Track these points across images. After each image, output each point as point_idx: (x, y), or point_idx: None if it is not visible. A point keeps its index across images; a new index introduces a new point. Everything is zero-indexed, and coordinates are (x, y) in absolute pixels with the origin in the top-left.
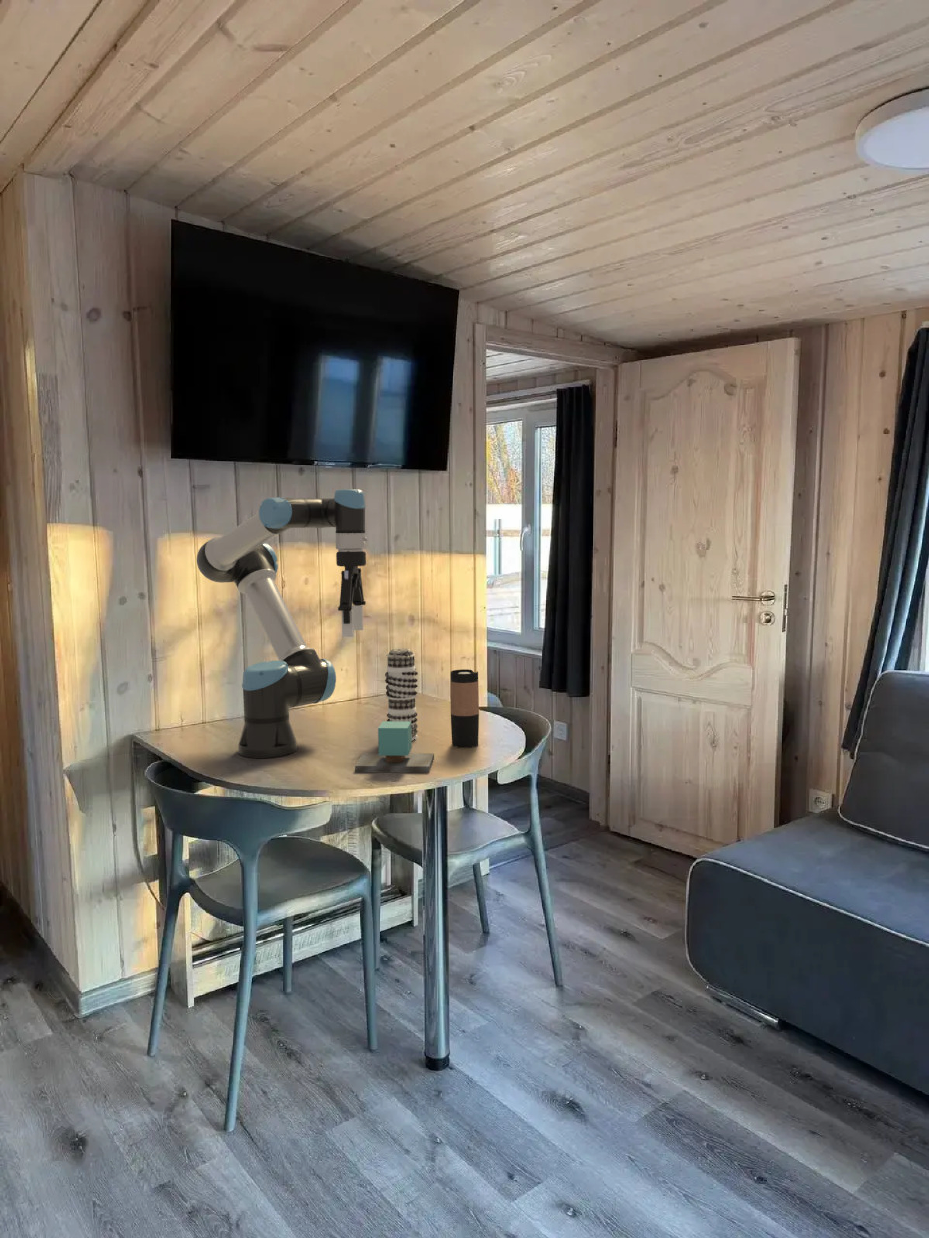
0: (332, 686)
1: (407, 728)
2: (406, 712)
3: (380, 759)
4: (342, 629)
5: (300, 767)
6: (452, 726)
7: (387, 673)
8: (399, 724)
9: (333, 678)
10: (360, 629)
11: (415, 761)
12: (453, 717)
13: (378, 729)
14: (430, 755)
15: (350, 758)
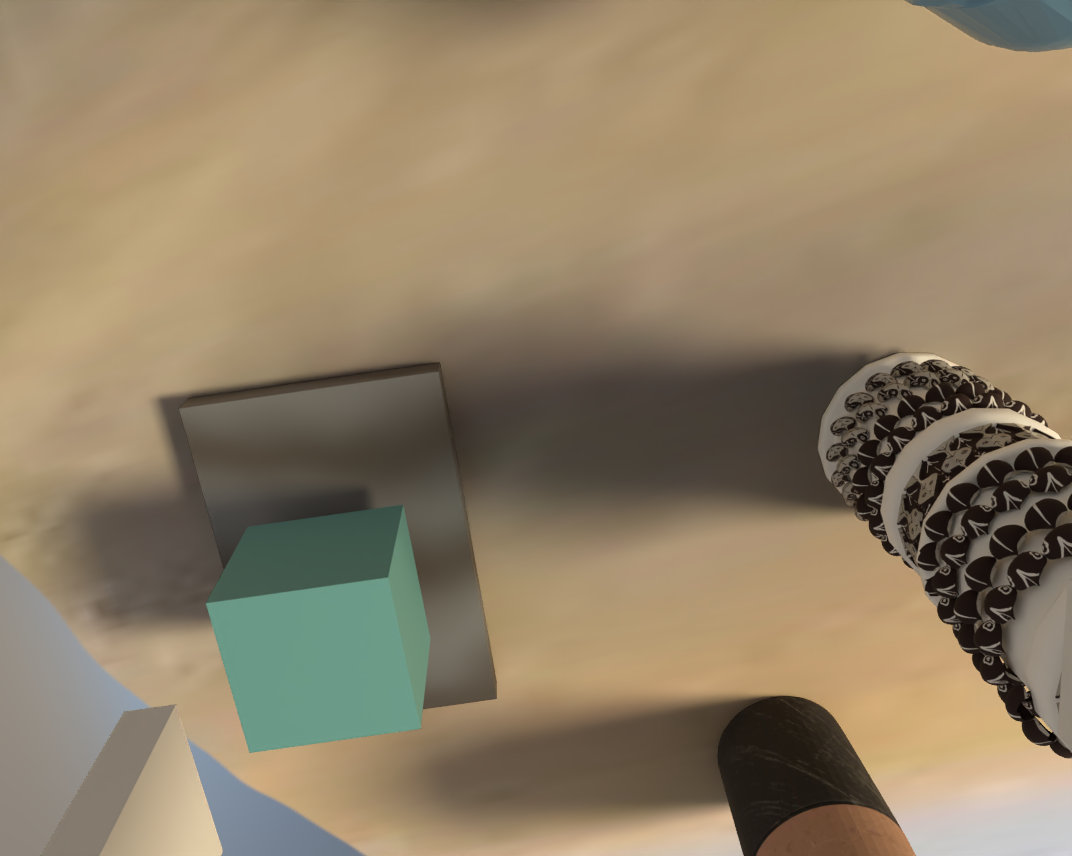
0: (965, 32)
1: (249, 751)
2: (896, 549)
3: (331, 494)
4: (74, 809)
5: (187, 64)
6: (770, 772)
7: None
8: (328, 689)
9: (1018, 37)
10: (1069, 708)
11: None
12: (772, 817)
13: (208, 600)
14: (455, 693)
15: (432, 287)
